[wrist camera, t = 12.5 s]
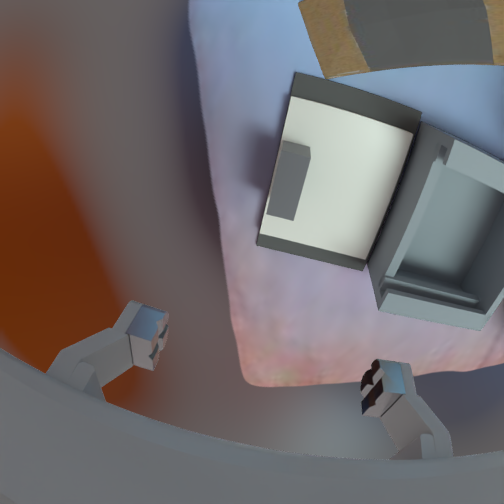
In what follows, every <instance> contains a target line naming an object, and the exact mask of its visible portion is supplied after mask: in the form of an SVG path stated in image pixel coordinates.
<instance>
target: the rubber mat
mask: <svg viewBox="0 0 504 504" xmlns="http://www.w3.org/2000/svg"><path fill="white" fill-rule="evenodd" d="M291 96H295V97H299V98H303V99H307V100H311V101H315V102H319V103H323V104H326V105H330V106H333V107H337V108H340V109H344V110H347V111H350V112H353V113H357V114H360V115H363V116H366V117H369V118H372V119H375V120H378V121H381V122H384V123H387V124H389V125H392V126H395V127H398V128H400V129H403V130H406V131H408V132H411V133H412V134H413V137H412V140H411V143H410V146H409V149H408V152H407V155H406V158H405V161H404V164H403V167H402V169H401V172H400V175H399V178H398V181H397V183H396V186H395V189H394V191H393V194H392V197H391V199H390V202H389V204H388V207H387V209H386V212H385V215H384V217H383V220H382V222H381V224H380V227H379V229H378V232H377V234H376V236H375V239H374V241H373V244H372V246H371V248H370V251H369V253H368V255H367V257H366V260H364V259H361V258H357V257H353V256H349V255H345V254H341V253H337V252H333V251H329V250H325V249H321V248H317V247H313V246H309V245H305V244H301V243H297V242H293V241H289V240H285V239H281V238H277V237H273V236H269V235H265V234H261V233H260V232H259V236H258V241H257V246H261V247H265V248H269V249H273V250H277V251H282V252H286V253H290V254H294V255H298V256H302V257H306V258H310V259H314V260H319V261H323V262H327V263H331V264H335V265H339V266H343V267H347V268H351V269H355V270H359V271H363V269H364V267H365V265H366V262H367V260H368V258H369V256H370V253H371V251H372V249H373V246H374V244H375V242H376V239H377V237H378V235H379V232H380V230H381V227H382V225H383V222H384V220H385V217H386V215H387V212H388V210H389V207H390V205H391V202H392V200H393V197H394V194H395V192H396V189H397V186H398V184H399V181H400V178H401V175H402V173H403V170H404V167H405V164H406V161H407V158H408V155H409V152H410V149H411V146H412V143H413V140H414V137H415V134H416V131H417V128H418V124H419V121H420V118H421V114H422V112H420V111H417V110H415V109H412V108H410V107H407V106H405V105H402V104H400V103H397V102H394V101H391V100H389V99H386V98H383V97H380V96H377V95H374V94H372V93H369V92H365V91H362V90H359V89H356V88H353V87H350V86H346V85H343V84H339V83H336V82H332V81H329V80H325V79H321V78H317V77H314V76H310V75H305V74H301V73H297V72H296V74H295V78H294V83H293V87H292V92H291ZM291 96H290V100H291ZM289 104H290V101H289ZM288 108H289V105H288ZM287 113H288V109H287ZM286 117H287V114H286ZM285 121H286V118H285ZM284 126H285V123H284ZM283 130H284V127H283ZM282 134H283V131H282ZM281 139H282V136H281ZM280 143H281V140H280ZM279 147H280V145H279ZM278 152H279V149H278ZM277 156H278V153H277ZM276 160H277V158H276ZM275 165H276V162H275ZM274 169H275V167H274ZM273 173H274V171H273ZM272 177H273V175H272ZM271 182H272V180H271ZM270 186H271V184H270ZM269 190H270V188H269ZM268 195H269V193H268ZM267 199H268V197H267ZM266 203H267V202H266ZM265 208H266V206H265ZM264 212H265V210H264ZM263 216H264V215H263ZM262 220H263V219H262ZM261 225H262V223H261ZM260 229H261V228H260Z"/></svg>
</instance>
